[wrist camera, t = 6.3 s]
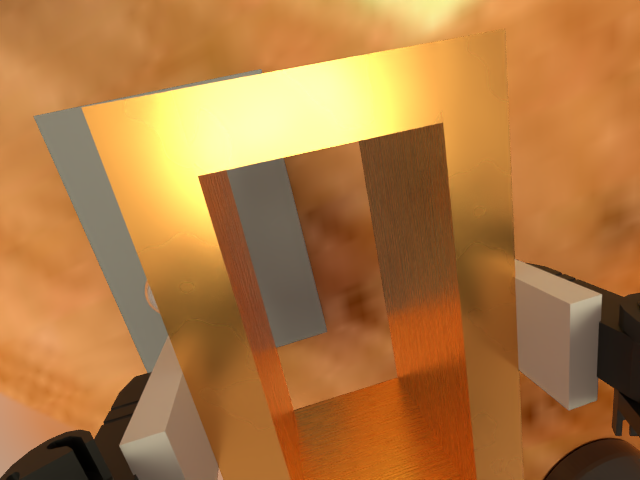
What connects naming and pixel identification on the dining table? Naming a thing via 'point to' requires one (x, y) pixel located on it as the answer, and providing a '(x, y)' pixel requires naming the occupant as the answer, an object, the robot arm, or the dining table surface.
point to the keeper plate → (255, 215)
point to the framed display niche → (392, 248)
